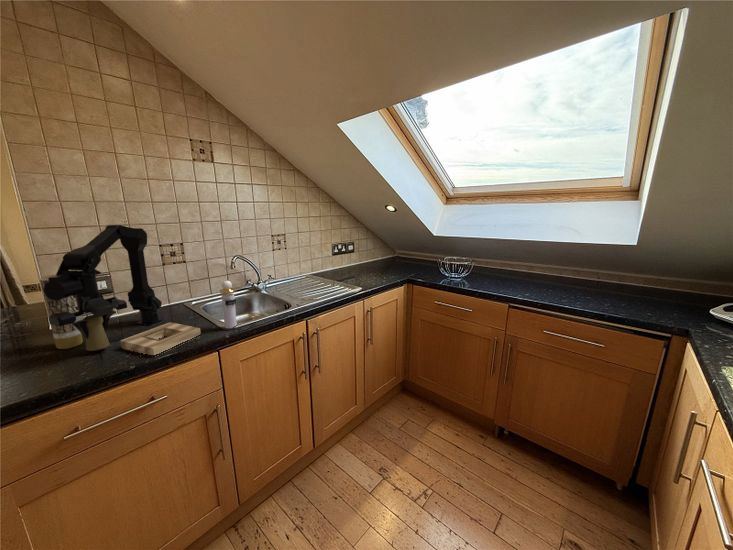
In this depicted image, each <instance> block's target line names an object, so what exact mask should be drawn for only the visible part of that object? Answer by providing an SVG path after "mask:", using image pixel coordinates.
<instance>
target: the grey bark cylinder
mask: <svg viewBox="0 0 733 550" xmlns="http://www.w3.org/2000/svg"><path fill="white" fill-rule="evenodd" d="M49 277H56V274H51V275H46V276H41V277H39V281H40V286H41V290H42V294H43V297H44V298H43V299H44V302H45V307H46V311H47V315H48V318H49V317H50V315H53V314H57V313H61V312H70V313H74V312H78V310H76V308H75V307H77V305H76V300H75V298H73V296H70V297H67V298H64V299H61V300H52V299H49V298H48V297H47V296H46V295H45V294H44V291H43V289H44V286H45V284H46V283H48V282H49V279H48V278H49ZM50 328H51V332H52V336H53V340H54V344H55V348H57V349H59V350H67V349H71V348H76V347H78V346H80V345H82V344H83V342H84V340H83V335H82V334H81V332H80V331H79V330H78V329H77V328H76V327H75V326H74V325H72V324H68V325H65V326H56V325H52V324H50Z"/></svg>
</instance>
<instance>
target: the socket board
mask: <svg viewBox="0 0 733 550" xmlns="http://www.w3.org/2000/svg"><path fill="white" fill-rule="evenodd" d="M201 333H202V332H201V328H200V327H195V326H190V325H186V324H180V323H176V322H175V323H174V322H167V323H165V324H162V325H158V326H156V327H154V328H153V327H152V328H151V329H149V330H146V331H143V332H140V333H137V334H134V335H132V336H129V337H126V338H124V339H120V346H121V349H123V350H126V351H129V350H130V351H129V352H133V351H134V353H137V352H138V353H137V354H141V353H143V354H142V355H145V354H148V355H147V356H149V355H156V354H159V353H161V352H163V351H165V350H168V349H170V348H172V347H174V346H176V345H178V344H180V343H182V342H185V341H187V340H190V339H192V338H194V337H196V336H198V335H200V334H201ZM201 335H202V334H201ZM164 336H165V337H164ZM159 338H160V339H159ZM194 339H195V338H194ZM192 340H193V339H192ZM190 341H191V340H190ZM170 350H171V349H170ZM168 351H169V350H168Z"/></svg>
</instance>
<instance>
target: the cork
mask: <svg viewBox="0 0 733 550" xmlns="http://www.w3.org/2000/svg"><path fill="white" fill-rule="evenodd" d="M83 320H87V322H86V327H87V330H88V334H89V337H88V339H87V338H85V350H86V351H90V352H93V351H99V350H103V349H106V348H107V347H109V346H110V345H111V344H110V341H109V339H108V336H107V334H106V332H105V331H104V328H103V326H102V323H103V317H102V316H101V317H95V316H94V315H93V314H89V315H86V316H84V317H83Z"/></svg>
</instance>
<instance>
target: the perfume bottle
mask: <svg viewBox="0 0 733 550" xmlns="http://www.w3.org/2000/svg"><path fill="white" fill-rule="evenodd" d="M221 287H222V289H220V290H219V293H220V294H221V301H222V303H221V304H222V313H223V314H222V315H223V324H224V328H225V329H233V327H234V326H236V325H237V326H238V324H237V313H236V312H237V311H236V305H237V299H236V298H235V293H234V292H236V288H233V283H232V282H231V281H230V280H224V281H223V282H222V283H221ZM237 326H236V327H237ZM234 328H235V327H234Z"/></svg>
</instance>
